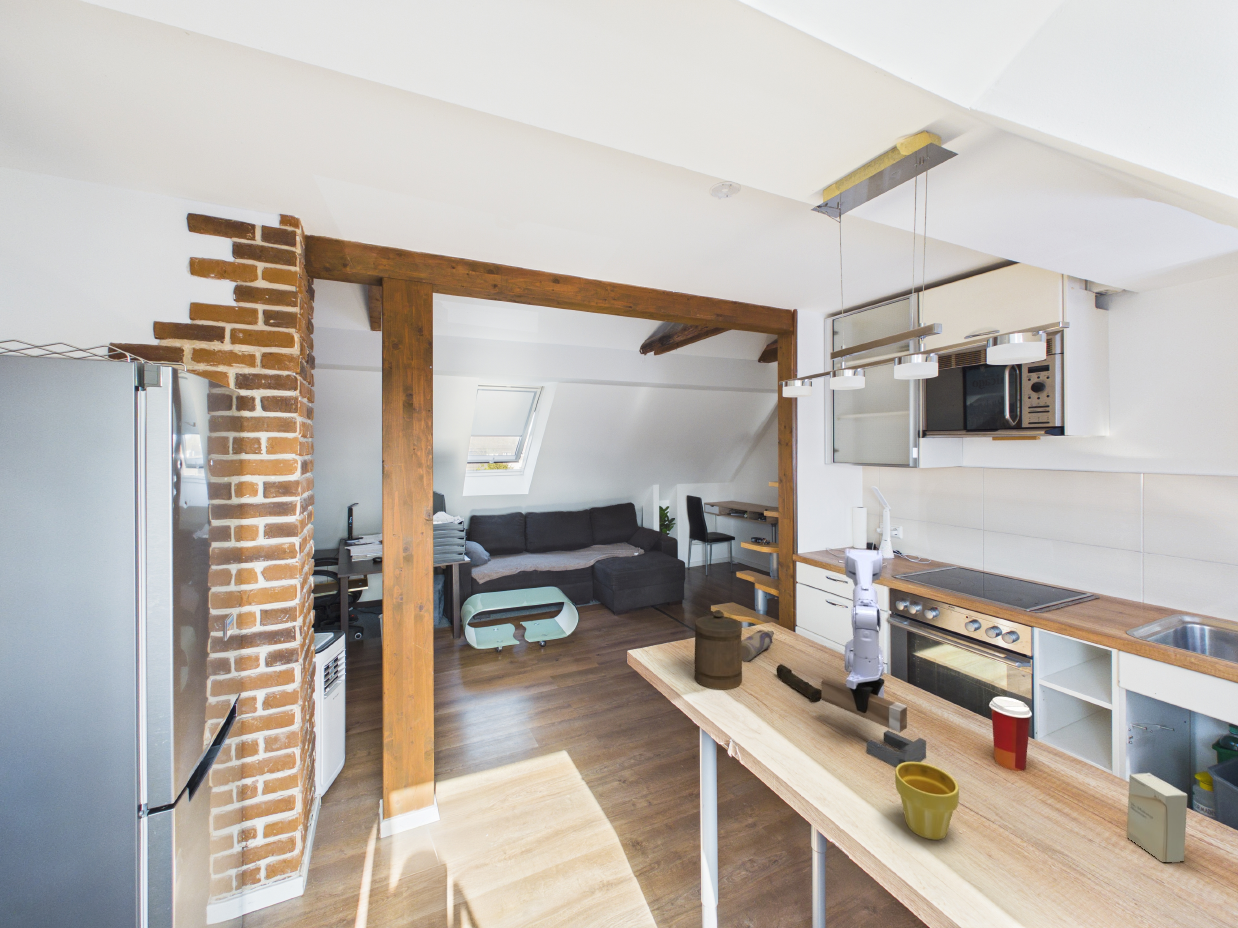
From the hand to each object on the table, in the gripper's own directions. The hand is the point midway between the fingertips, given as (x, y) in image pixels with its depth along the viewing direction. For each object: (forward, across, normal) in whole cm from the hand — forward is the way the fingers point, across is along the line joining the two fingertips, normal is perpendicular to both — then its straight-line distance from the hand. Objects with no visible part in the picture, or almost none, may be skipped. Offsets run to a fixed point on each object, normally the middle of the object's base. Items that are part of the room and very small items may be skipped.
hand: (865, 708), depth 127 cm
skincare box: (+8, -7, +49) cm, 51 cm away
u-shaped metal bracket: (+8, 0, +8) cm, 11 cm away
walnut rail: (+2, 0, -1) cm, 2 cm away
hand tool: (+8, -11, -28) cm, 31 cm away
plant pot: (+8, +20, +22) cm, 31 cm away
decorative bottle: (+8, -26, -53) cm, 59 cm away
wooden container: (+8, +3, -46) cm, 47 cm away
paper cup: (+8, -17, +25) cm, 31 cm away
